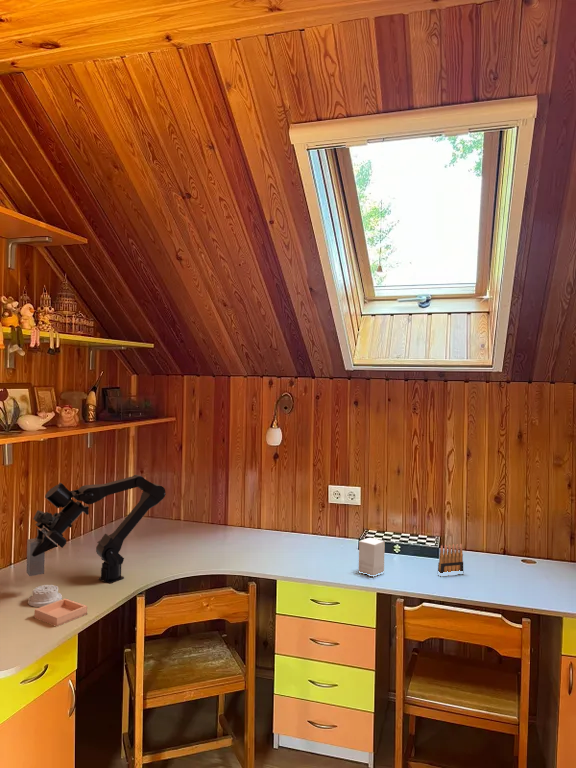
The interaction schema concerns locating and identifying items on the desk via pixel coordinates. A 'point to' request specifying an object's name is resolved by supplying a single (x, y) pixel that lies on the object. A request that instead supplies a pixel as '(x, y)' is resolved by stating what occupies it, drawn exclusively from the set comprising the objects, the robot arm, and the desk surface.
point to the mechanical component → (44, 596)
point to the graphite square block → (34, 558)
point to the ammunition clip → (450, 559)
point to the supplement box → (371, 556)
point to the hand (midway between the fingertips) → (31, 553)
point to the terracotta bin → (60, 612)
